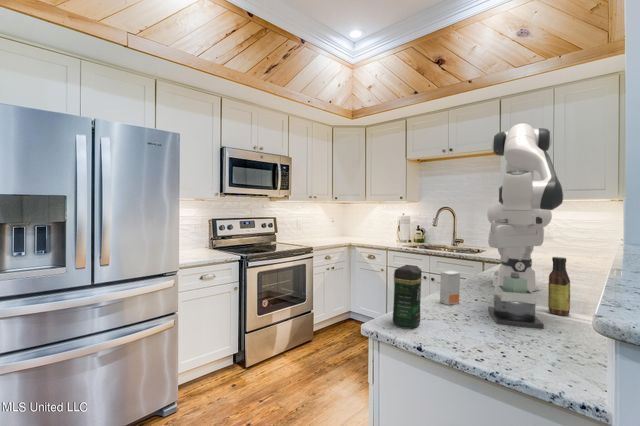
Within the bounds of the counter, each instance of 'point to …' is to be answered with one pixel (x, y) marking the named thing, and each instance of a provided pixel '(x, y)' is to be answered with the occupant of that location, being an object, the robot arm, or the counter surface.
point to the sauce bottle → (559, 288)
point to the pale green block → (514, 283)
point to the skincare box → (449, 287)
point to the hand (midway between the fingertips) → (515, 260)
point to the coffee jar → (407, 296)
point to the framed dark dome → (515, 308)
